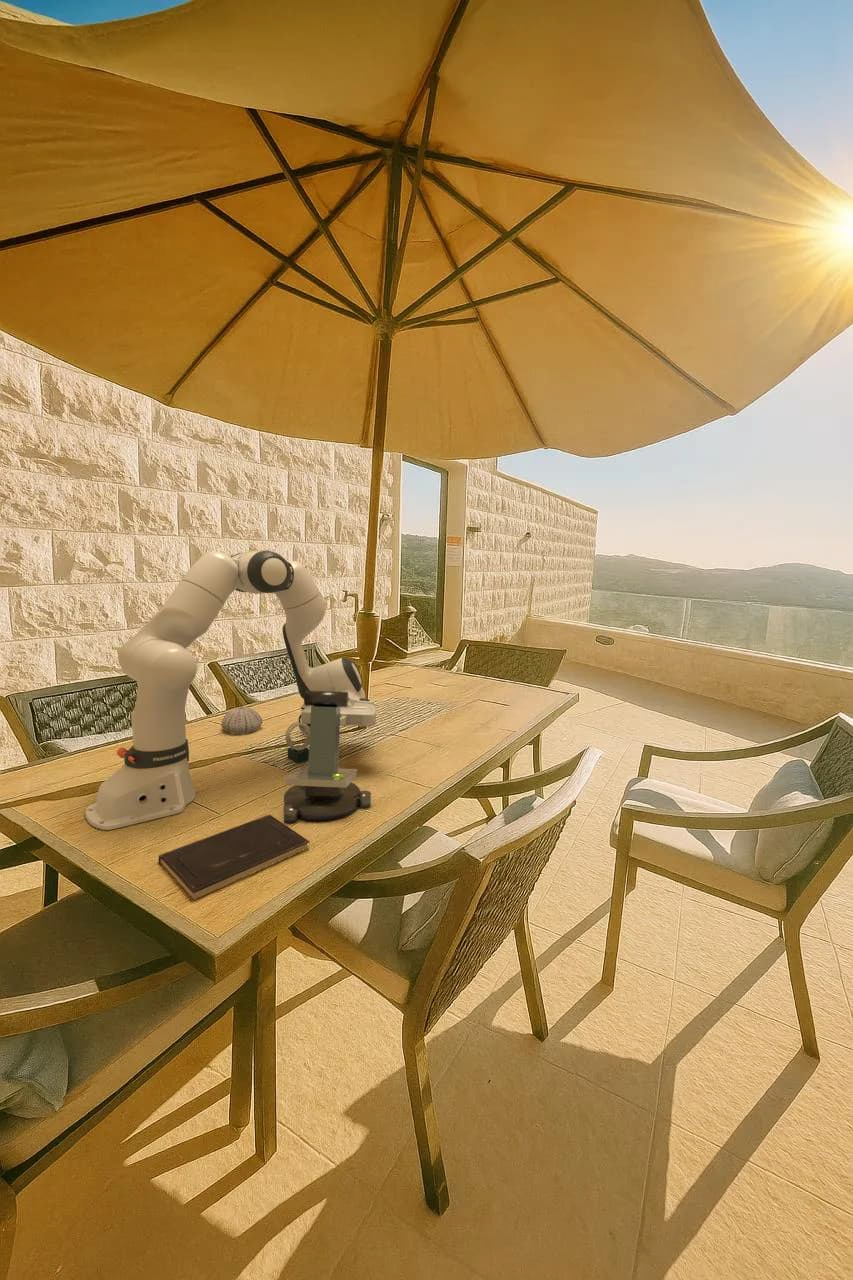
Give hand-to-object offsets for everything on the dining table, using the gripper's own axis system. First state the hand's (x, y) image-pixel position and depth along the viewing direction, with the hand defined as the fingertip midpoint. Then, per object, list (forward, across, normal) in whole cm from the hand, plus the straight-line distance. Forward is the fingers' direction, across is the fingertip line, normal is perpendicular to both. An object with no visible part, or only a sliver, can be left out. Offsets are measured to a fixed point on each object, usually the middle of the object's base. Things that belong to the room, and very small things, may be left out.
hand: (333, 724), depth 131 cm
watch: (-15, -14, +16) cm, 26 cm away
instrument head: (+12, 0, +10) cm, 16 cm away
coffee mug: (-37, -16, +16) cm, 43 cm away
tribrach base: (+12, +1, +16) cm, 20 cm away
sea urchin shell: (-39, -40, +16) cm, 59 cm away
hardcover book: (+35, -11, +17) cm, 40 cm away
